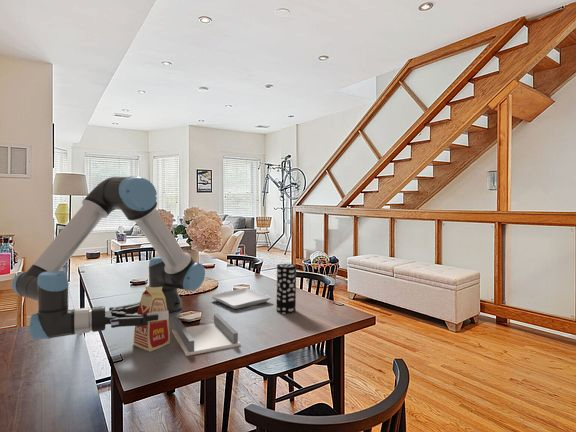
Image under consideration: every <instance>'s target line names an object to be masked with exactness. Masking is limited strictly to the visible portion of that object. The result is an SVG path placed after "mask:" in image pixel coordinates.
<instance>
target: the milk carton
mask: <svg viewBox="0 0 576 432" xmlns="http://www.w3.org/2000/svg"><path fill="white" fill-rule="evenodd" d="M139 302H140V305H139V309H138V313H136V314H144V315H145V314H146V315H147V313H153V312H160V311H167V305H166V299H165V296H164V294H163V292H162V287H149V286H145V290H144V291H143V292H142V294H141V297H140V301H139ZM169 320H170V319H167V320H160V321H153V322H147V325H146V326H145V325H144V326H143V325H142V326H134V332H133V343H132V345H133V346H134V347H135V346H136V347H138V348H140V349H142V350H145V351H147V352H149V353H151V352H154V351H155V350H158V349H160V348H163V347H165V346H167V345H169V344H171V334H170V333H171V332H170V331H171V330H170V323H169V322H170V321H169Z"/></svg>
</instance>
